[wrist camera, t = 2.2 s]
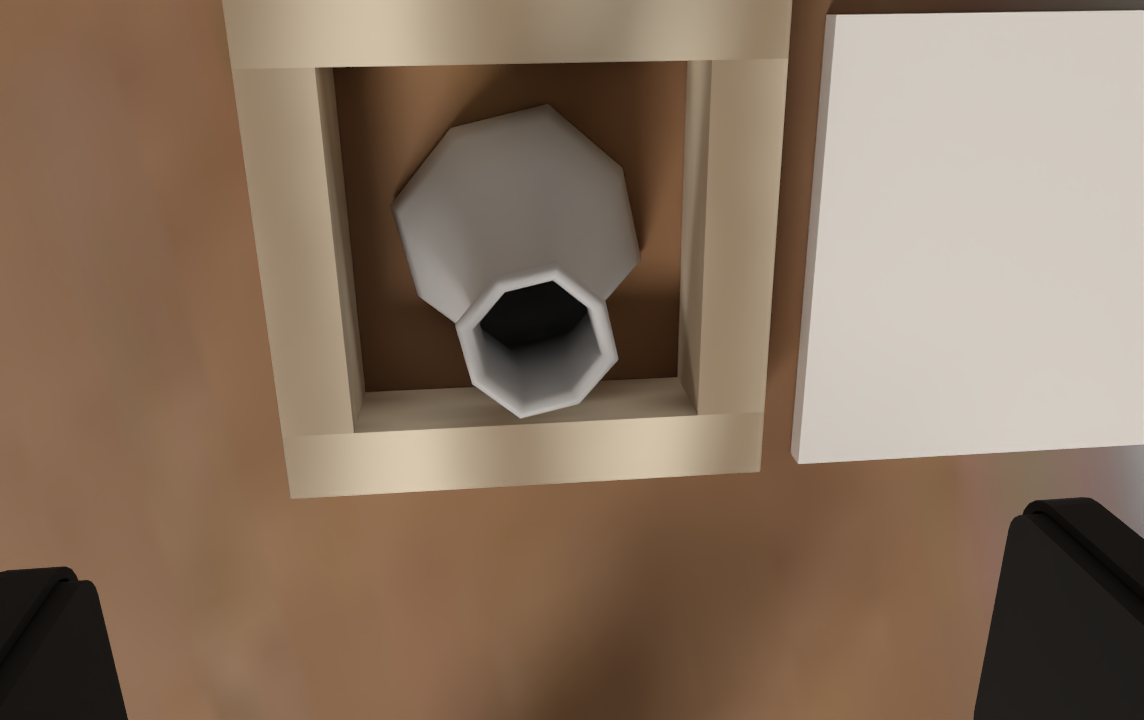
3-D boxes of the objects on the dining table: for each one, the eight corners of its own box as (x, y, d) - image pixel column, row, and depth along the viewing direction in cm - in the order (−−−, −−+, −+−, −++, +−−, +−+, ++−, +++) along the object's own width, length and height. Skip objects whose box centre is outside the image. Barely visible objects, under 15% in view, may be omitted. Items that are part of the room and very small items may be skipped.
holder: (760, -23, 26) (794, -26, 23) (734, 429, 31) (759, 471, 28) (248, -17, 25) (219, -19, 22) (308, 452, 30) (291, 498, 27)
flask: (678, 265, 29) (773, 390, 20) (483, 384, 30) (486, 558, 20) (557, 57, 26) (600, 88, 17) (347, 193, 27) (279, 293, 18)
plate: (1281, 7, 28) (1304, 7, 27) (1177, 431, 33) (1193, 441, 32) (826, 14, 27) (836, 14, 26) (790, 453, 32) (798, 464, 31)
